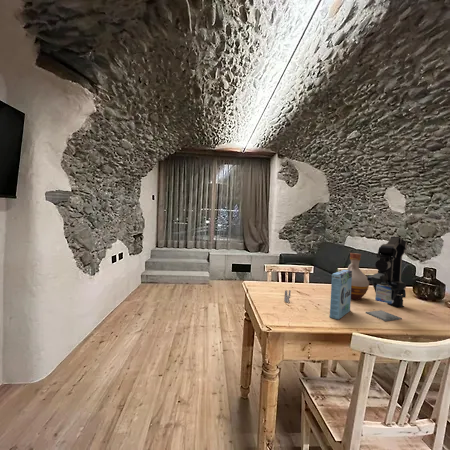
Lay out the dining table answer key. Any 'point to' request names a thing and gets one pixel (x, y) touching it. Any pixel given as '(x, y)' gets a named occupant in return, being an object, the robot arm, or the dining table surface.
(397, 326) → the dining table surface
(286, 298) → the architectural model
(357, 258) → the jug
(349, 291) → the gum box
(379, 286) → the medicine box
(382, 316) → the slate board
